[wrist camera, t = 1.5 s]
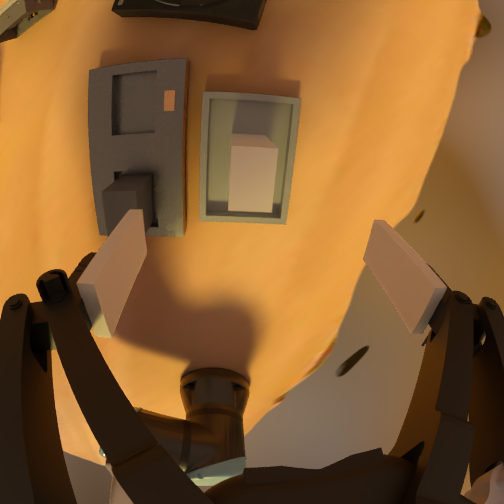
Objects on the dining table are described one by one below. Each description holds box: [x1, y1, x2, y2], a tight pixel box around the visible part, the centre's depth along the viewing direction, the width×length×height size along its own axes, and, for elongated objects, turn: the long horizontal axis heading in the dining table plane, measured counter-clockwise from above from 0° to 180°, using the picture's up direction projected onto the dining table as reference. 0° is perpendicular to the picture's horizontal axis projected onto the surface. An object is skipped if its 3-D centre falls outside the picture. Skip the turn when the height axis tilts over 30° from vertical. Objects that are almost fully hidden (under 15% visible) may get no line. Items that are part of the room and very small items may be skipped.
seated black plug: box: [102, 173, 155, 237], centre depth 31 cm, size 6×4×7 cm, turn 176°
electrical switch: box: [0, 0, 55, 43], centre depth 15 cm, size 9×5×9 cm, turn 104°
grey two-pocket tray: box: [88, 58, 190, 237], centre depth 30 cm, size 22×12×3 cm, turn 176°
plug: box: [228, 133, 278, 213], centre depth 29 cm, size 6×4×10 cm, turn 176°
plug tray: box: [199, 92, 301, 225], centre depth 33 cm, size 16×11×2 cm
